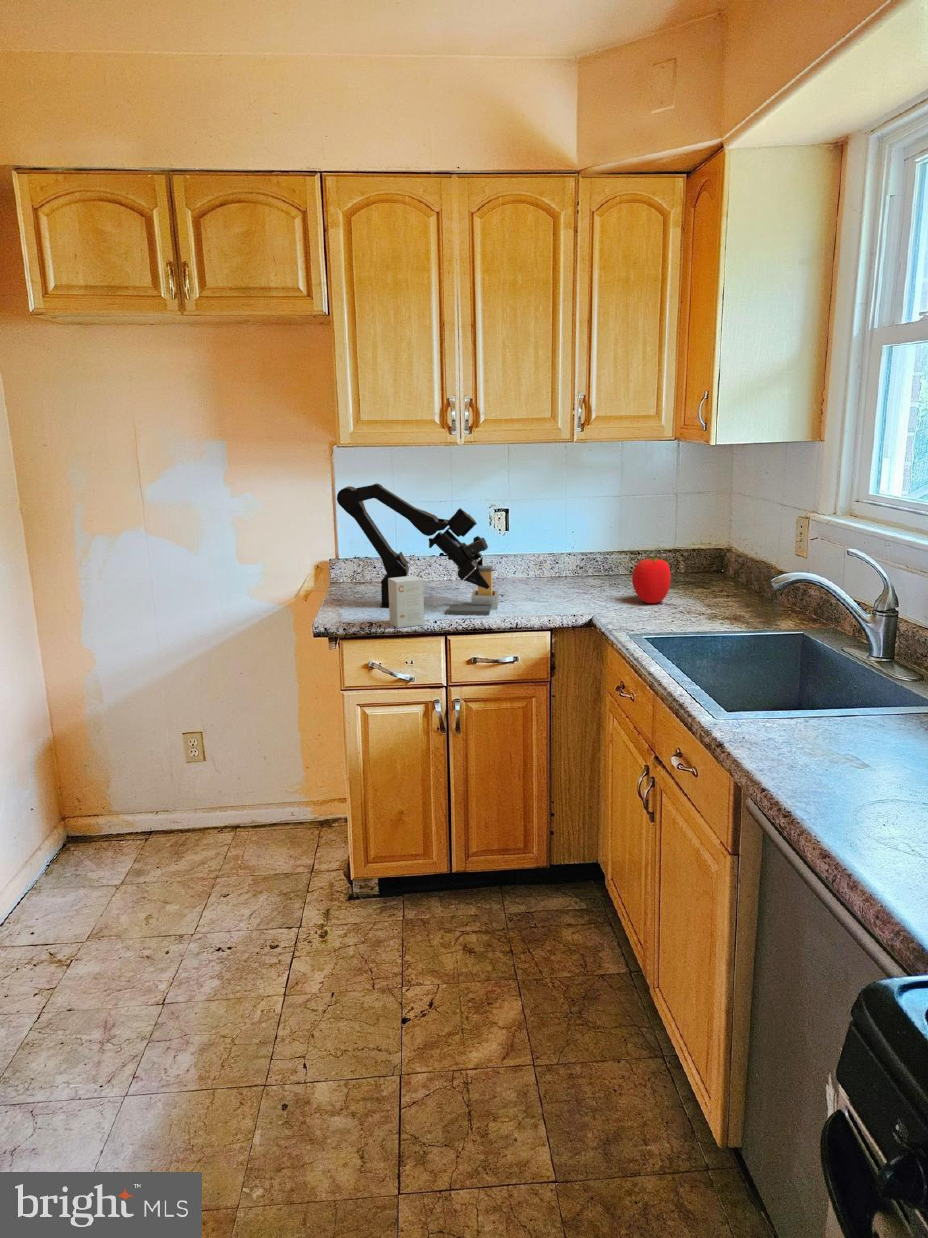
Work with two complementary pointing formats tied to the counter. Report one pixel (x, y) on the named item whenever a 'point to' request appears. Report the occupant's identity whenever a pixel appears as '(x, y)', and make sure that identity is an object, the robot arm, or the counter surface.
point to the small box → (406, 601)
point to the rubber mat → (469, 610)
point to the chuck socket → (485, 599)
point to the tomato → (651, 580)
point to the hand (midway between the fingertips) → (489, 584)
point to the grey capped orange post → (487, 575)
